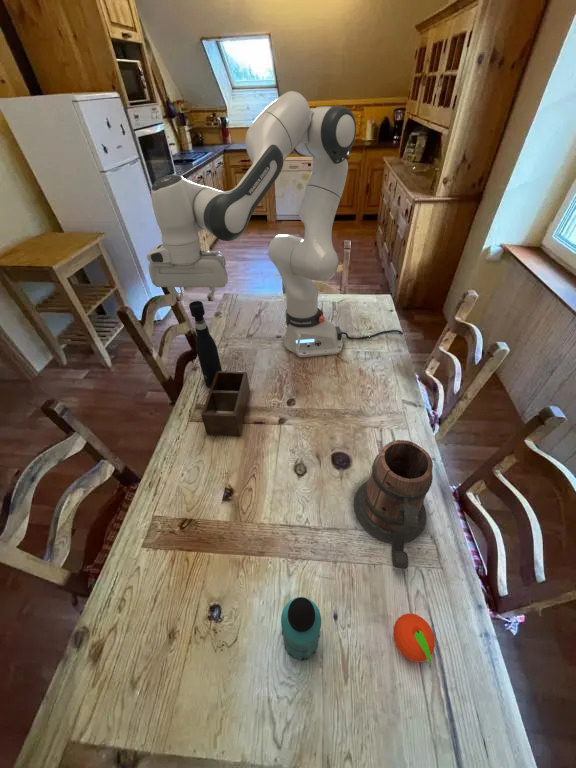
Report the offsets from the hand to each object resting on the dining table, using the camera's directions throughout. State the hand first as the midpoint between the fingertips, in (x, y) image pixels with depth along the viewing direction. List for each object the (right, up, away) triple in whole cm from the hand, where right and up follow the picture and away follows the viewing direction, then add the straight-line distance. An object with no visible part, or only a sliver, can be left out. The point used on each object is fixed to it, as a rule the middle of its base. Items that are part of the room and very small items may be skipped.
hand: (195, 300), depth 96 cm
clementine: (+49, -71, -33) cm, 92 cm away
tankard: (+50, -56, -17) cm, 77 cm away
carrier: (+8, -32, +11) cm, 35 cm away
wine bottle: (+1, -23, +21) cm, 31 cm away
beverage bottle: (+29, -71, -33) cm, 84 cm away
